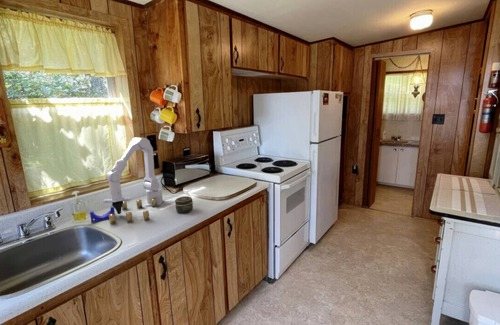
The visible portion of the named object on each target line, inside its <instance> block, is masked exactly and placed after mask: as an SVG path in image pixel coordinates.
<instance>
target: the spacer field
mask: <svg viewBox="0 0 500 325" xmlns="http://www.w3.org/2000/svg"><path fill="white" fill-rule="evenodd" d="M127 202H128V201H123V204H122V208H121V211H126V210H128V209H129V208H128V203H127ZM151 202H152V205H151V208H157V207H158V205H157V201H156V198H153V199H151ZM135 204H136V208H137V209H138V210H140V209H143V203H142V199H137V200H136V203H135ZM142 215H143V221H144V222H148V221H150V219H151V218H150V211H149V210H144V211H143V212H142ZM125 216H126V223H129V224H130V223H132V222H134V218H133V213H132V211H128V212H126V213H125ZM108 220H109V224H110V225H115V224H117V219H116V213H115V214H109V219H108Z"/></svg>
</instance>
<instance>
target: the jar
mask: <svg viewBox="0 0 500 325" xmlns="http://www.w3.org/2000/svg"><path fill="white" fill-rule="evenodd" d="M174 203H175V204H174V205H175V210H176V212H177V213H178V214H180V215H185V214H190V213H191V212H192V211H193V210H194V209H193V208H194V206H193V203H194V201H193V198H192V197H191V196H186V195H185V196H180V197H179V196H178V197H177V198H175V200H174Z"/></svg>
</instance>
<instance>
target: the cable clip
mask: <svg viewBox="0 0 500 325" xmlns="http://www.w3.org/2000/svg"><path fill="white" fill-rule="evenodd" d="M115 211H116V210H115V208H114V207H113V206H112V205H111V206H110V210H109V211H108V212H106V213H105V214H103V215H98V214H96V213H95V212H94V210H93V209H91V210H89V216H90V220H91V223H96V222H101V221H105V220H109V214H115V215H116V213H115Z"/></svg>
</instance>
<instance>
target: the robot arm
mask: <svg viewBox="0 0 500 325" xmlns="http://www.w3.org/2000/svg"><path fill="white" fill-rule="evenodd" d="M137 151H142V152H143V159H144V170H145V171H144V172H145V174H144V175H145V176H144V178H143V183H142V187H143V189H145V195H146V202H147V203H146V204H145V207H148V206H151V207H152V202H151V199H153V198H156V201H157V206H160V205H162V203H163V201H164V199H163V191H162V189H159V188H160V183H159V180H158V178H157V177H156V175H155V162H154V161H155V160H154V148H153V146H152V144H151V141H150V140H149V139H148V138H146V137H138V136H136V137H132V139H131V140H130V142H129V144H128V147H127V148H126V150H125V152H124V153H123V155H122V157H121V159H117V160H115V164H114V165H113V167H112V168H110V171H108V172H107V173H106V176H105V179H106V180H107V181H108V185H109V191H110V197H111V198H105V199H103V201H102V202H103V204H107V203H108V204H109V203H110V204H111V203H112V204H111V206H113V207H114V210H115V211H116V213H117V215H121V213H122V204H123V201H126V202H131V200H132V197H131V196H123V192H122V186H121V179H122V174H123V172H124V171H125V169H126V168H127V166H128V161H129V160H130V159H131V157H132V156H133V154H134V153H135V152H137Z"/></svg>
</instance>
